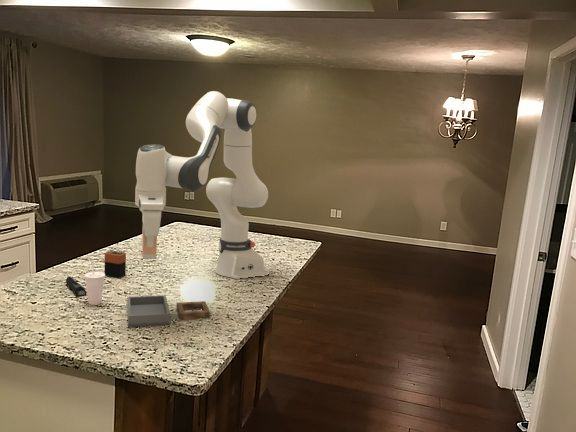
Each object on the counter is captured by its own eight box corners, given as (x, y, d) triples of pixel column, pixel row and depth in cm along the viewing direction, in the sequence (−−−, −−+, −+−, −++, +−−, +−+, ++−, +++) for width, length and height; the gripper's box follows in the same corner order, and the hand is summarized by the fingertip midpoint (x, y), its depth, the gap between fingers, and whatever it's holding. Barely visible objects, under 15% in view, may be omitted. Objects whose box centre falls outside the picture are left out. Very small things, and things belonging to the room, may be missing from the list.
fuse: (155, 255, 151) (156, 223, 149) (156, 258, 147) (157, 226, 145) (142, 255, 150) (142, 223, 148) (142, 259, 146) (143, 226, 144)
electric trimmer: (74, 283, 176) (74, 275, 176) (87, 296, 165) (87, 287, 164) (63, 284, 174) (63, 276, 174) (75, 298, 162) (75, 289, 162)
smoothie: (87, 299, 162) (87, 258, 159) (107, 299, 162) (107, 259, 160) (81, 306, 155) (81, 264, 153) (102, 307, 156) (102, 265, 153)
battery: (119, 278, 184) (119, 253, 182) (103, 275, 185) (104, 250, 184) (126, 275, 188) (126, 250, 186) (110, 272, 190) (110, 248, 188)
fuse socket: (205, 306, 163) (205, 301, 162) (209, 318, 154) (210, 312, 153) (176, 308, 159) (176, 302, 159) (179, 319, 151) (179, 313, 150)
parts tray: (165, 305, 161) (165, 295, 161) (169, 324, 147) (170, 313, 146) (127, 307, 157) (127, 296, 157) (127, 327, 143) (128, 316, 142)
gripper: (138, 193, 154) (137, 236, 156) (140, 205, 135) (139, 253, 137) (158, 194, 156) (157, 236, 158) (164, 205, 137) (162, 252, 139)
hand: (149, 244), depth 148 cm, fingers closed on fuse, 4 cm apart
